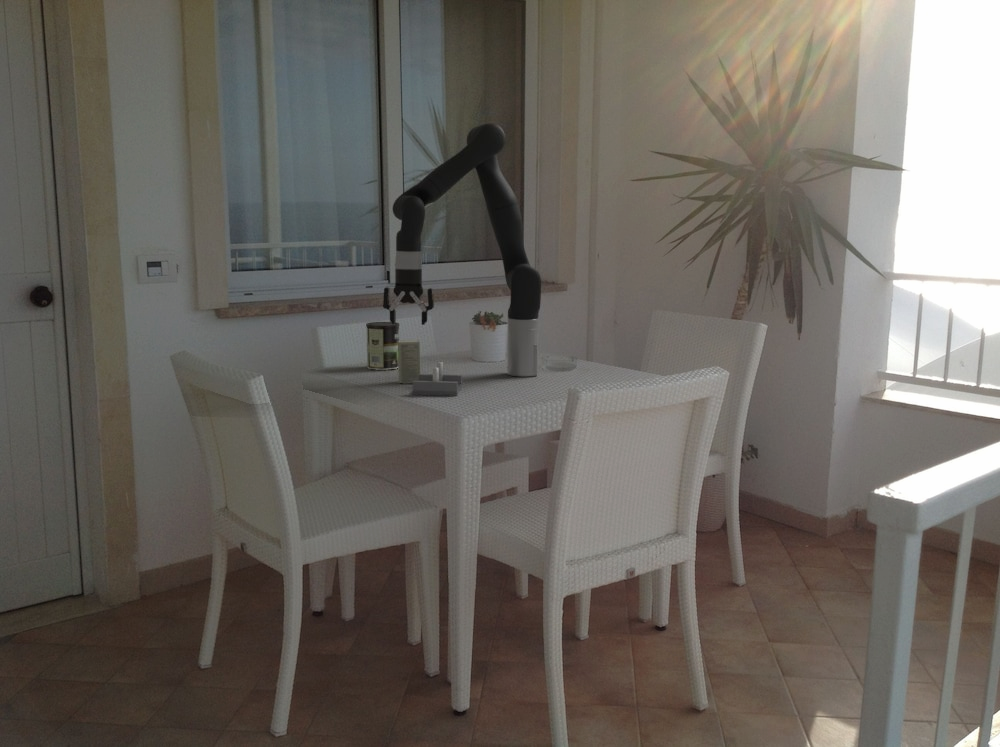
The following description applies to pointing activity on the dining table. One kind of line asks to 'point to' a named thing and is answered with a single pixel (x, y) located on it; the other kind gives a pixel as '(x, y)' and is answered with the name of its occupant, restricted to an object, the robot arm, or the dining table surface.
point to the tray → (437, 383)
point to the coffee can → (382, 345)
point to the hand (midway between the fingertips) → (408, 324)
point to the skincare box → (408, 360)
